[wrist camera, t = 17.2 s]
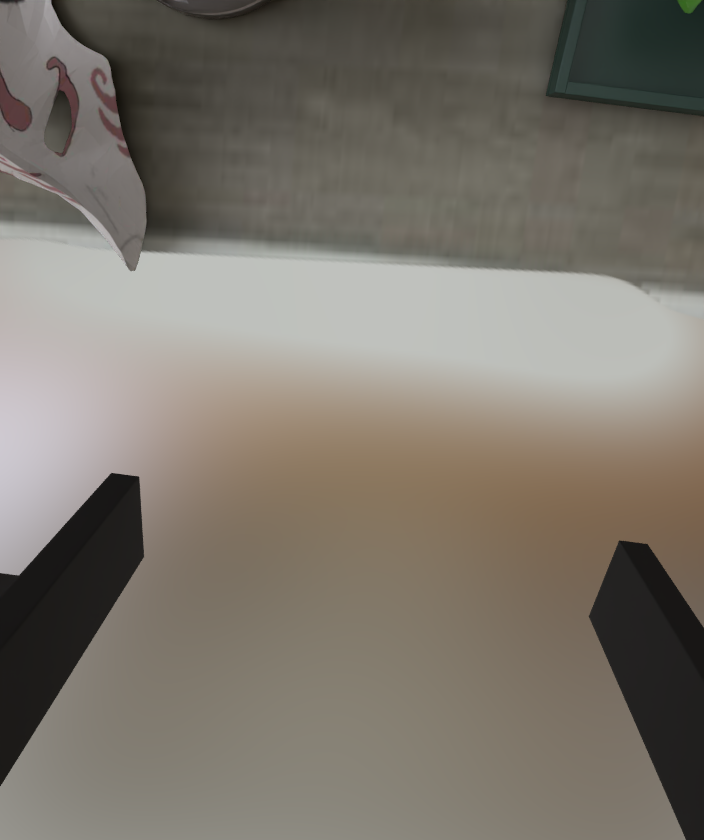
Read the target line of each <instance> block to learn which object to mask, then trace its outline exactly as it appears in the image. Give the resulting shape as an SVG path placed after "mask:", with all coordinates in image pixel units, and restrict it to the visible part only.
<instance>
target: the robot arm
mask: <svg viewBox="0 0 704 840" xmlns="http://www.w3.org/2000/svg"><path fill="white" fill-rule="evenodd" d="M157 1H158V2H160V3H162V4H163V5H165V6H167V7H169V8H171V9H173V10H175V11H177V12H180V13H183V14H186V15H189V16H194V17H198V18H206V19H224V18H232V17H236V16H240V15H244V14H247V13H249V12H252V11H254V10H256V9H258V8H260V7H262V6H264V5H265V4H267V3H268V2H270V1H271V0H157ZM143 557H144V549H143V533H142V516H141V499H140V483H139V477H138V476H130V475H122V474H115V473H111V474H110V475H109V476H108V478H106V480H105V481H104V482H103V483H102V484H101V485H100V486H99V488H97V490H96V491H95V492H94V493H93V494H92V495H91V496H90V498H88V500H87V501H86V502H85V503H84V504H83V505H82V506H81V507H80V508H79V510H78V511H77V512H76V513H75V514H74V515H73V516H72V517H71V518H70V520H69V521H68V522H67V523H66V524H65V525H64V526H63V527H62V528H61V530H60V531H59V532H58V533H57V534H56V535H55V536H54V537H53V539H52V540H51V541H50V542H49V543H48V544H47V545H46V546H45V547H44V548H43V550H42V551H41V552H40V553H39V554H38V555H37V556H36V557H35V558H34V560H33V561H32V562H31V563H30V564H29V565H28V566H27V567H26V569H25V570H24V571H23V572H22V573H21V574H20V575H19V576H17V575H9V574H2V573H0V786H1V784H2V783H3V781H4V780H5V778H6V776H7V775H8V773H9V772H10V770H11V768H12V767H13V765H14V764H15V762H16V760H17V759H18V757H19V756H20V754H21V752H22V751H23V749H24V748H25V746H26V744H27V743H28V741H29V740H30V738H31V736H32V735H33V733H34V732H35V730H36V728H37V727H38V725H39V724H40V722H41V720H42V719H43V717H44V716H45V714H46V712H47V711H48V709H49V708H50V706H51V704H52V703H53V701H54V700H55V698H56V696H57V695H58V693H59V691H60V690H61V689H62V687H63V685H64V684H65V682H66V680H67V679H68V677H69V676H70V674H71V673H72V671H73V669H74V668H75V666H76V664H77V663H78V661H79V660H80V658H81V657H82V655H83V653H84V652H85V650H86V649H87V647H88V645H89V644H90V642H91V641H92V639H93V637H94V635H95V634H96V633H97V631H98V629H99V628H100V626H101V624H102V623H103V621H104V620H105V618H106V617H107V615H108V613H109V612H110V610H111V608H112V607H113V605H114V604H115V602H116V601H117V599H118V597H119V596H120V594H121V593H122V591H123V589H124V588H125V586H126V585H127V583H128V581H129V580H130V578H131V577H132V575H133V573H134V572H135V570H136V569H137V567H138V565H139V564H140V562H141V561H142V559H143ZM589 618H590V620H591V622H592V625H593V627H594V629H595V631H596V634H597V636H598V638H599V641H600V643H601V645H602V648H603V650H604V652H605V654H606V657H607V659H608V661H609V664H610V666H611V668H612V671H613V673H614V675H615V678H616V680H617V682H618V684H619V687H620V689H621V691H622V694H623V696H624V698H625V701H626V703H627V705H628V707H629V710H630V712H631V714H632V716H633V719H634V721H635V723H636V726H637V728H638V730H639V733H640V735H641V737H642V739H643V742H644V744H645V746H646V749H647V751H648V753H649V755H650V758H651V760H652V763H653V765H654V767H655V769H656V772H657V774H658V776H659V778H660V781H661V783H662V786H663V788H664V790H665V792H666V795H667V797H668V799H669V802H670V804H671V806H672V808H673V810H674V813H675V815H676V818H677V820H678V822H679V824H680V827H681V829H682V831H683V834H684V836H685V838H686V840H704V628H703V626H702V625H701V623H700V622H699V620H698V619H697V617H696V616H695V614H694V613H693V611H692V610H691V608H690V607H689V605H688V604H687V602H686V601H685V599H684V598H683V596H682V595H681V593H680V592H679V590H678V589H677V587H676V586H675V585H674V583H673V582H672V580H671V578H670V577H669V576H668V574H667V572H666V571H665V569H664V568H663V567H662V565H661V564H660V562H659V561H658V559H657V558H656V556H655V555H654V553H653V552H652V550H651V549H650V547H649V546H648V544H642V543H634V542H627V541H619V543H618V545H617V548H616V550H615V552H614V555H613V557H612V560H611V562H610V565H609V568H608V570H607V572H606V575H605V578H604V580H603V583H602V585H601V587H600V590H599V592H598V595H597V597H596V600H595V602H594V605H593V607H592V610H591V613H590V615H589Z"/></svg>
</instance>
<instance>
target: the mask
mask: <svg viewBox="0 0 704 840" xmlns="http://www.w3.org/2000/svg"><path fill="white" fill-rule="evenodd" d="M59 90H61V91H64V92H65V94H66V96H67V98H68V100H69V102H70V108H71V116H72V129H71V132H70V134H69V137H68V139H67V142H66V145H65V148H64V151H63V154H62V153H58V152H54V151H52V150H50V149H49V148H48V147H47V146H46V144H45V143H44V131H45V128H46V125H47V121H48V118H49V115H50V112H51V109H52V107H53V104H54V102H55V99H56V97H57V94H58V92H59ZM0 172H3V173H6V174H10V175H13V176H15V177H17V178H18V179H20V180H23V181H25V182H28V183H31V184H34V185H36V186H38V187H41V188H43V189H46V190H48V191H51V192H53V193H56V194H58V195H60V196H61V197H62V198H63V199H65V200H66V201H68V202H69V203H70V204H72V205H73V206H75V207H76V208H77V209H79V210H80V211H81V212H82V213H83V214H84V215H85V216H86V217H87V218H88V220H89V221H90V222H91V223H92V224H93V225H94V226H95V228H96V229H97V230H98V231H99V232H100V233H101V234H102V236H103V237H104V238H105V239H106V240H107V241H108V242H109V244H110V245H111V246H112V247H113V249H114V250H115V251H116V253H117V254H118V255H119V257H120V258H121V259H122V261H123V262H124V263H125V265H126V266H127V267H128V268H129V270H130V271H135V269H136V266H137V264H138V261H139V257H140V253H141V249H142V244H143V239H144V234H145V229H146V223H147V220H146V198H145V191H144V188H143V184H142V181H141V179H140V177H139V175H138V173H137V171H136V169H135V167H134V164H133V162H132V160H131V157H130V154H129V151H128V148H127V145H126V142H125V139H124V136H123V133H122V129H121V124H120V120H119V114H118V109H117V104H116V95H115V88H114V85H113V81H112V77H111V68H110V65H109V62H108V60H107V59H106V58H105V57H104V56H103V55H101V54H99V53H97V52H94V51H93V50H91V49H89V48H87V47H85V46H84V45H82V44H81V43H79V42H78V41H77V40H75V39H74V38H73V37H72V36H71V35H70V34H69V33H68V32H67V31H66V30H65V29H64V27H63V26H62V25H61V23H60V21H59V19H58V17H57V15H56V13H55V11H54V9H53V7H52V4H51V0H0ZM28 172H35V173H28Z"/></svg>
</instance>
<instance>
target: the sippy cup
mask: <svg viewBox="0 0 704 840" xmlns="http://www.w3.org/2000/svg"><path fill="white" fill-rule="evenodd" d="M677 1H678V3H679V5H680V7H681V8H682V10H683V11H684V12H685V13H688V14H689V13H692V12H693V11H694V9H695V8H696V7H697V5H698V4H699V3H700V2H701V1H702V0H677Z"/></svg>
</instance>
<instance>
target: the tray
mask: <svg viewBox="0 0 704 840" xmlns="http://www.w3.org/2000/svg"><path fill="white" fill-rule="evenodd" d="M546 96H549V97H557V98H565V99H573V100H581V101H589V102H597V103H605V104H613V105H621V106H629V107H637V108H644V109H652V110H660V111H668V112H676V113H684V114H692V115H700V116H704V0H702V1H701V2H700V3H699V4H698V5H697V7H696V8H695V9H694V11H693V12H692V13H689V14H688V13H685V12H684V11H683V10H682V8H681V7H680V5H679V3H678V1H677V0H568V1H567V6H566V10H565V14H564V19H563V23H562V27H561V32H560V36H559V40H558V45H557V49H556V54H555V58H554V62H553V67H552V71H551V75H550V80H549V84H548V88H547V93H546Z"/></svg>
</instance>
